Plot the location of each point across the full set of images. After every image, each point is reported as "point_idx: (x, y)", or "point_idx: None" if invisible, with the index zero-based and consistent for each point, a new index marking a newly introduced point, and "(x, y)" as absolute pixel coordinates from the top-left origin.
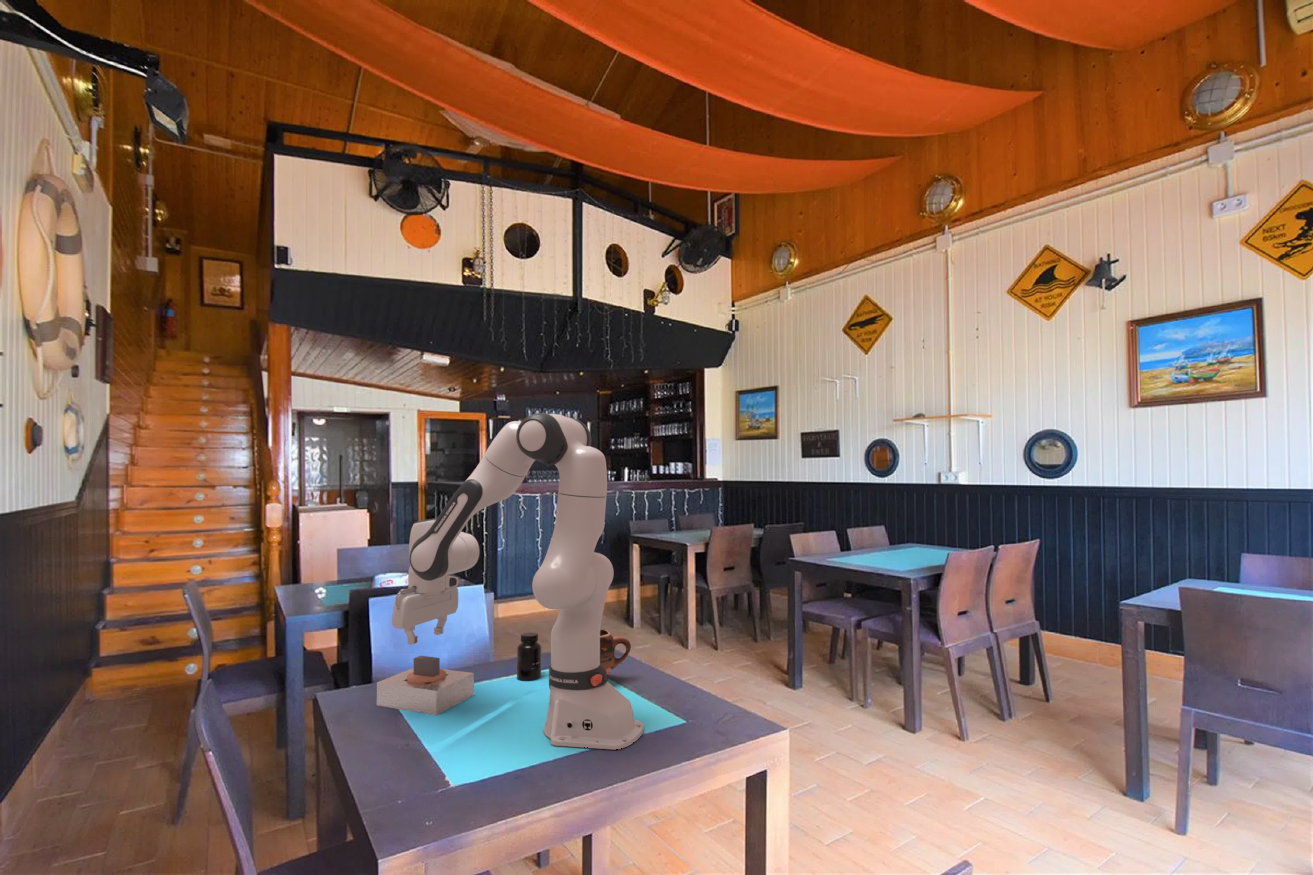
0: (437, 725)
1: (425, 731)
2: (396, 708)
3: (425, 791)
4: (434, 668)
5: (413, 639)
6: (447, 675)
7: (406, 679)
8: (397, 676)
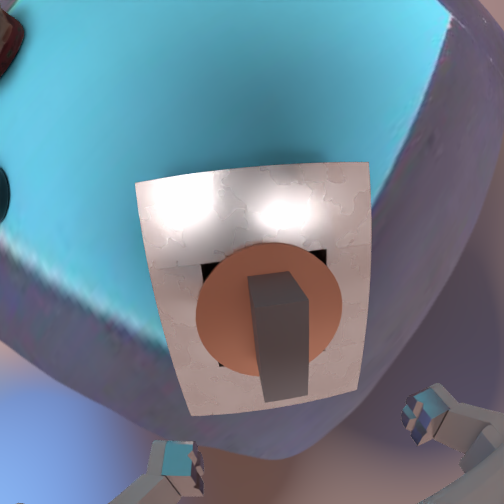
0: (345, 144)
1: (380, 148)
2: None
3: (472, 40)
4: (285, 285)
5: (450, 396)
6: (211, 261)
7: None
8: None
